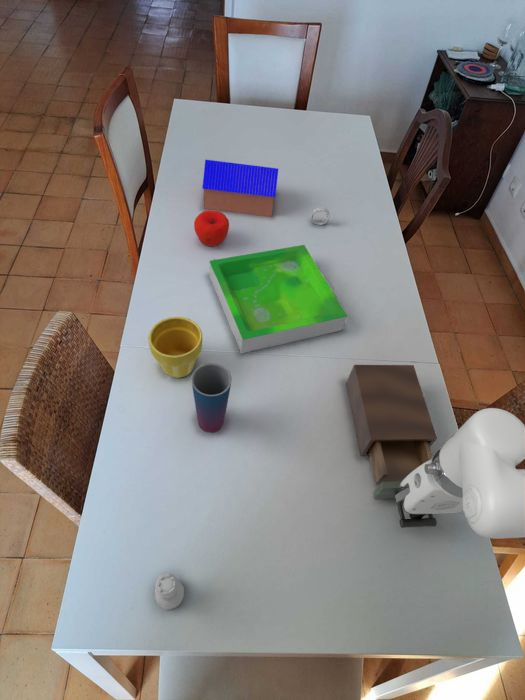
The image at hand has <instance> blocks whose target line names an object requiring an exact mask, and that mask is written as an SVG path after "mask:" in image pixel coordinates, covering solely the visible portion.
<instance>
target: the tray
mask: <svg viewBox="0 0 525 700" xmlns="http://www.w3.org/2000/svg"><path fill="white" fill-rule="evenodd" d="M310 253H311V252H309V250H308V248H307V247H306V245H305V244H301V245H294V246H289V247H283V248H277V249H271V250H265V251H259V252H253V253H247V254H241V255H235V256H228V257H223V258H217V259H210V260H209V278H210V280H211V281H210V282H211V284H212V285H213V288H214V290H215V293H216V295H217V298H218V300H219V302H220V305H221V308H222V310H223V312H224V315H225V318H226V320H227V322H228V325H229V327H230V329H231V333H232V334H233V337H234V339H235V342H236V345H237V347H238V349H239V352H240V354H245V353H250V352H254V351H260V350H263V349H267V348H272V347H276V346H280V345H284V344H285V345H286V344H289V343H293V342H297V341H302V340H306V339H310V338H314V337H319V336H323V335H328V334H333V333H336V332H340V331H341V332H342V331H343V329H344V327H345V324H346V321H347V318H348V315H347V313H346V311H345V310H344V307H343V306H342V305H341V303H340V302H339V300H338V298H337V297H336V295H335V293H334V292H333V290H332V288H331V286H330V285H329V282H328V281H327V280H326V277H324V275H323V273H322V271H321V270H320V268H319V267H318V265H317V263H316V261H315V259H314V258H313V257H312V255H311V254H310Z"/></svg>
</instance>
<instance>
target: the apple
mask: <svg viewBox="0 0 525 700" xmlns="http://www.w3.org/2000/svg"><path fill="white" fill-rule="evenodd" d="M193 228H194V232H195V235H196V237H197V239H198V240H199V241H200V243H201V244H202V245H203V246H206V247H218V246H219V245H221V244H222V243H223V242H224V241H225V240H226V238H227V236H228V233H229V229H230V221H229V218H228V217H227V216H226V215H225V214H224V213H223V212H222V211H219V210H211V209H207V210H203V211H202V212H200V213H199V214H198V215H197V216H196V217H195V218H194V222H193Z"/></svg>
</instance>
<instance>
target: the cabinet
mask: <svg viewBox="0 0 525 700" xmlns="http://www.w3.org/2000/svg"><path fill="white" fill-rule="evenodd" d="M345 386H346V391H347V396H348V402H349V406H350V410H351V411H350V412H351V417H352V421H353V425H354V431H355V436H356V439H357V440H356V441H357V445H358V446H357V447H358V451H359V455H360V457H365V456H366V457H370V456H369V452H368V450H369V448H370V447H371V445H372V444H373V442H375V441H428V444H429V447H430V448H431V446H432V445H433V444H434V443H435V442H436V441H437V439H438V438H437V434H436V431H435V429H434V425H433V422H432V418H431V415H430V413H429V410H428V409H429V408H428V406H427V403H426V401H425V396H424V393H423V391H422V387H421V384H420V381H419V378H418V375H417V371H416V368H415V365H414V364H354V365H353V366H352V369H351V371H350V374H349V375H348V378H347V379H346V383H345Z"/></svg>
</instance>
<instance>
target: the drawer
mask: <svg viewBox="0 0 525 700" xmlns="http://www.w3.org/2000/svg"><path fill="white" fill-rule="evenodd" d="M368 452H369V456H368V457H369V461H370V465H371V469H372V474H373V479H374V485H376V486H377V485H378V486H377V487H376V488H375V489H374V490H373V491H372V495H373V499H374V500H385V499H386V500H387V499H396V498H395V495H396V494H398V493H399V492H401V491H403V490H404V489H401V488H400V484H401V482H402V481H403V480H404V479H405V478H406V477H407V476H408V475H409V474H410V473H411V472H412V471H414V470H415V469H416V468H418V467H419V466H420V465H422V464H424V463H425V462H427V461H429V460H431V459H432V457H433V454H432V450H431V446H430V447H429V444H428V441H375V442H373V444H372V445H371V447H370V448H369V450H368ZM396 505H397V509H398V510H397V511H398V514H399V526H400V528H402V529H403V528H430V527H431V528H432V527H437V524H438V522H437V518H436V517H434V516H433V515H434V514H427V517H422V518H411V519H410V518H406V516H405V512H404V509H403V504H400V503H397V502H396Z"/></svg>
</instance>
